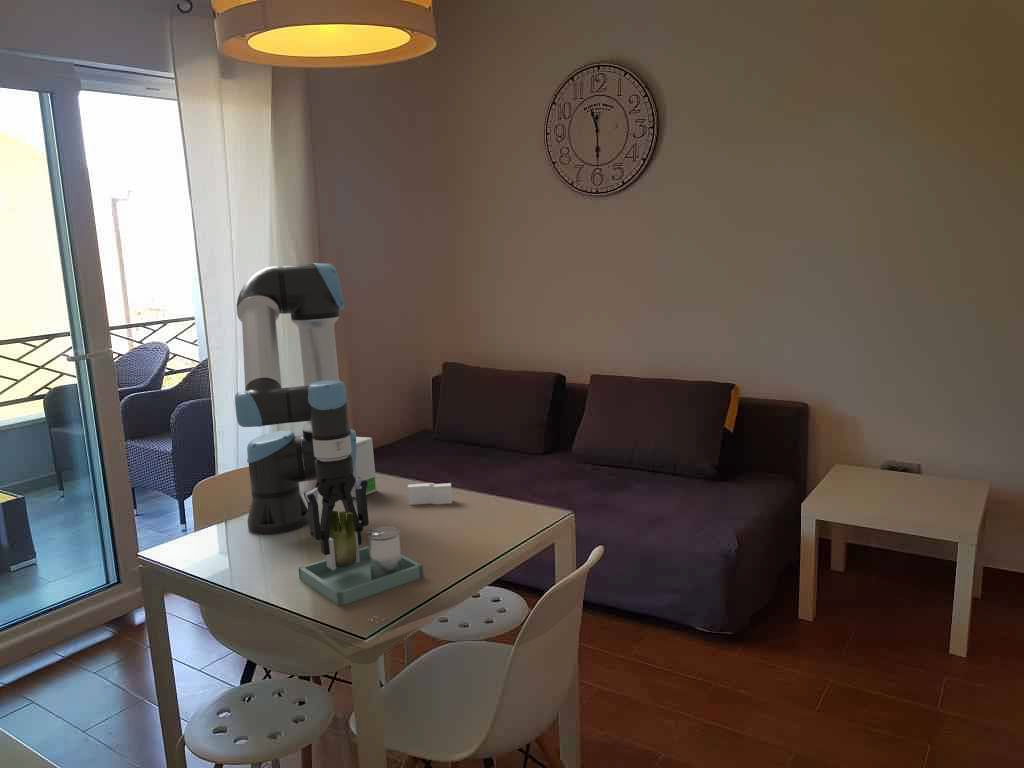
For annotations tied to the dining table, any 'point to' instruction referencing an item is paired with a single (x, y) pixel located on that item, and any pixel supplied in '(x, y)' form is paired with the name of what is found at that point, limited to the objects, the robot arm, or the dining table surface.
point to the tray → (355, 578)
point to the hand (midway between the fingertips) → (343, 564)
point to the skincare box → (365, 464)
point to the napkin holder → (429, 493)
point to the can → (384, 551)
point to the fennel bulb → (343, 538)
